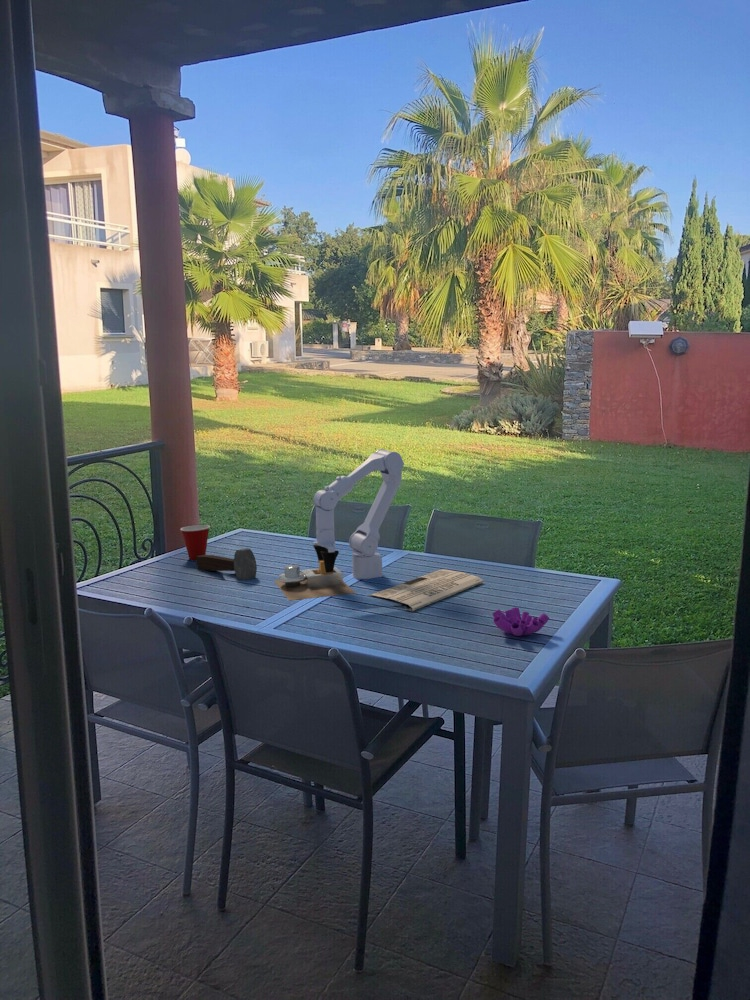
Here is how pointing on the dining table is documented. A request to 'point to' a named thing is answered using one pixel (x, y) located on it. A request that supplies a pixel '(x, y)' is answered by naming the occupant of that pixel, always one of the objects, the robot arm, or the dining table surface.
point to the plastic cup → (195, 540)
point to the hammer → (230, 563)
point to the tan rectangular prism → (322, 567)
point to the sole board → (313, 590)
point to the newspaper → (430, 588)
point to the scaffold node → (309, 577)
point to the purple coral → (518, 622)
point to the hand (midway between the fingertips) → (326, 569)
